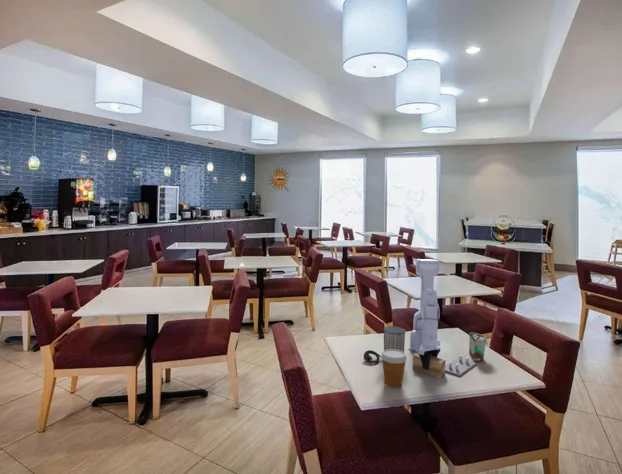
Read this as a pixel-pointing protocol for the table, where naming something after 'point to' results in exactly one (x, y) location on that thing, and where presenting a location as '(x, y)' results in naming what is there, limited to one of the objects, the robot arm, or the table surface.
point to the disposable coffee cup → (393, 367)
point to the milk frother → (389, 342)
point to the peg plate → (459, 366)
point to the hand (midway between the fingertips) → (428, 367)
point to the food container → (477, 346)
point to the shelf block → (430, 366)
